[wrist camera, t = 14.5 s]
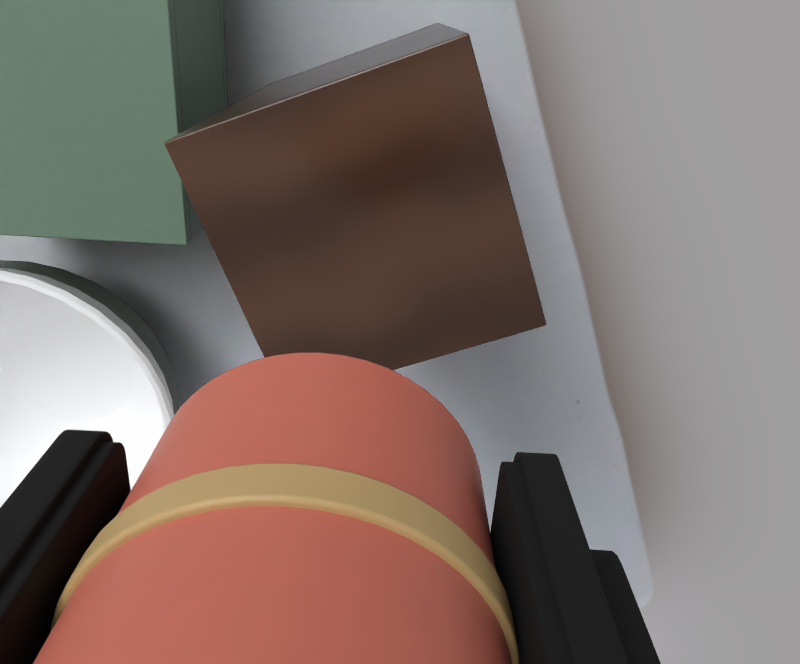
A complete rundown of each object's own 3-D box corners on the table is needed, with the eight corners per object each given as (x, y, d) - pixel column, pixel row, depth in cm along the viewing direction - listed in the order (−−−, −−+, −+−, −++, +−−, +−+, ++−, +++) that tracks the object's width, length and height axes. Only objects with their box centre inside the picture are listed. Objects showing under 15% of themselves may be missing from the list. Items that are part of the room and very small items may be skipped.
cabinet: (-28, -100, 35) (-170, -137, 26) (219, -84, 35) (159, -115, 27) (22, 184, 41) (-80, 230, 33) (232, 196, 41) (186, 245, 33)
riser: (269, 83, 39) (162, 142, 22) (438, 22, 37) (468, 32, 20) (332, 244, 43) (284, 402, 26) (487, 194, 41) (547, 326, 24)
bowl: (146, 191, 41) (89, 231, 34) (249, 442, 49) (222, 520, 42) (-129, 262, 43) (-239, 315, 36) (12, 493, 51) (-55, 575, 44)
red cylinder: (132, 333, 9) (-237, 773, 4) (507, 353, 10) (643, 809, 4) (165, 609, 12) (-44, 1134, 6) (469, 623, 12) (526, 1151, 6)
